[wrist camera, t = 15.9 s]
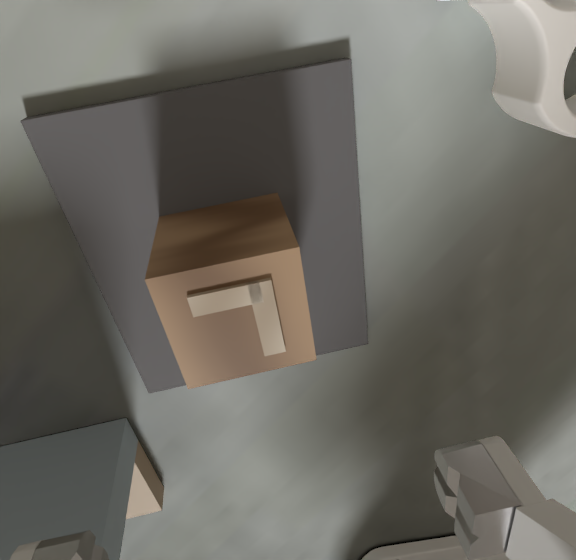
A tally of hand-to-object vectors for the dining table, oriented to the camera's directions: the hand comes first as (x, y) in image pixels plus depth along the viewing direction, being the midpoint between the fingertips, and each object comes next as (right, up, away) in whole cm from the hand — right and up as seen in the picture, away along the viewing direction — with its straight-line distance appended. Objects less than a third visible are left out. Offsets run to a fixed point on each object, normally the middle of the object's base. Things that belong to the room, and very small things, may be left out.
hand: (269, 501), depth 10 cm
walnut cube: (-2, +6, +9) cm, 11 cm away
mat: (-2, +7, +10) cm, 12 cm away
